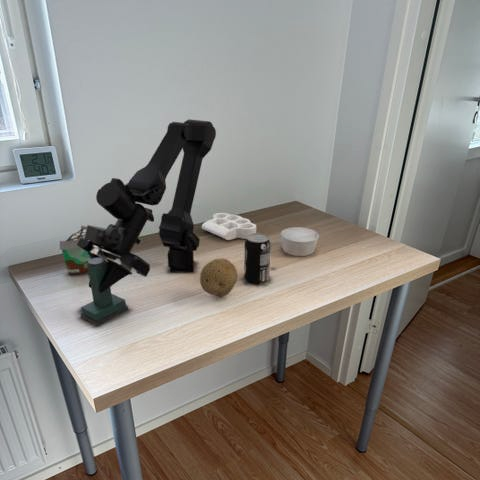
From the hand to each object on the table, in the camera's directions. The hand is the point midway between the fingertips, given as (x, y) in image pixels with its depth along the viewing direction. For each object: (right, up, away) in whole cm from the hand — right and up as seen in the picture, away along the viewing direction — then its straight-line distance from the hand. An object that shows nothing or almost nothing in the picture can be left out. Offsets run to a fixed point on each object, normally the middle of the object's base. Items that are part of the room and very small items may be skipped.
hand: (95, 289), depth 103 cm
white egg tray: (+23, +20, +40) cm, 51 cm away
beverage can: (+36, +4, +20) cm, 42 cm away
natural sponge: (+27, -1, +12) cm, 29 cm away
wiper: (+1, -5, +5) cm, 7 cm away
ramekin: (+50, +14, +37) cm, 63 cm away
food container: (-10, +7, +25) cm, 28 cm away
